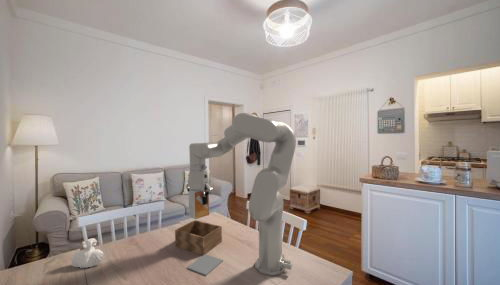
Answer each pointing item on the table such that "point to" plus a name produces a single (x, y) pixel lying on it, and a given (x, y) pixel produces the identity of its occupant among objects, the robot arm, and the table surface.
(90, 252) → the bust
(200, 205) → the small box
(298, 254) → the table surface
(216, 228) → the wooden cubby frame
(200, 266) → the pad
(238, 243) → the table surface
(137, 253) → the table surface
